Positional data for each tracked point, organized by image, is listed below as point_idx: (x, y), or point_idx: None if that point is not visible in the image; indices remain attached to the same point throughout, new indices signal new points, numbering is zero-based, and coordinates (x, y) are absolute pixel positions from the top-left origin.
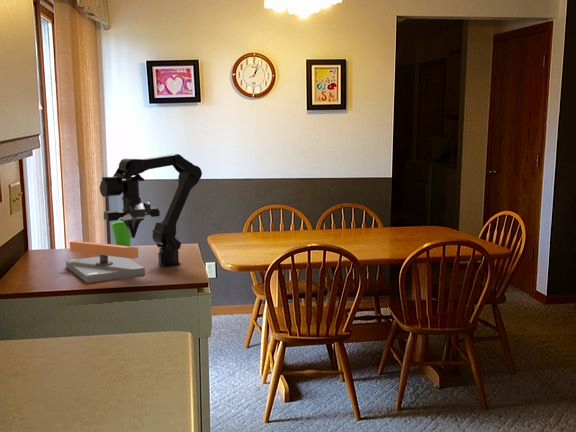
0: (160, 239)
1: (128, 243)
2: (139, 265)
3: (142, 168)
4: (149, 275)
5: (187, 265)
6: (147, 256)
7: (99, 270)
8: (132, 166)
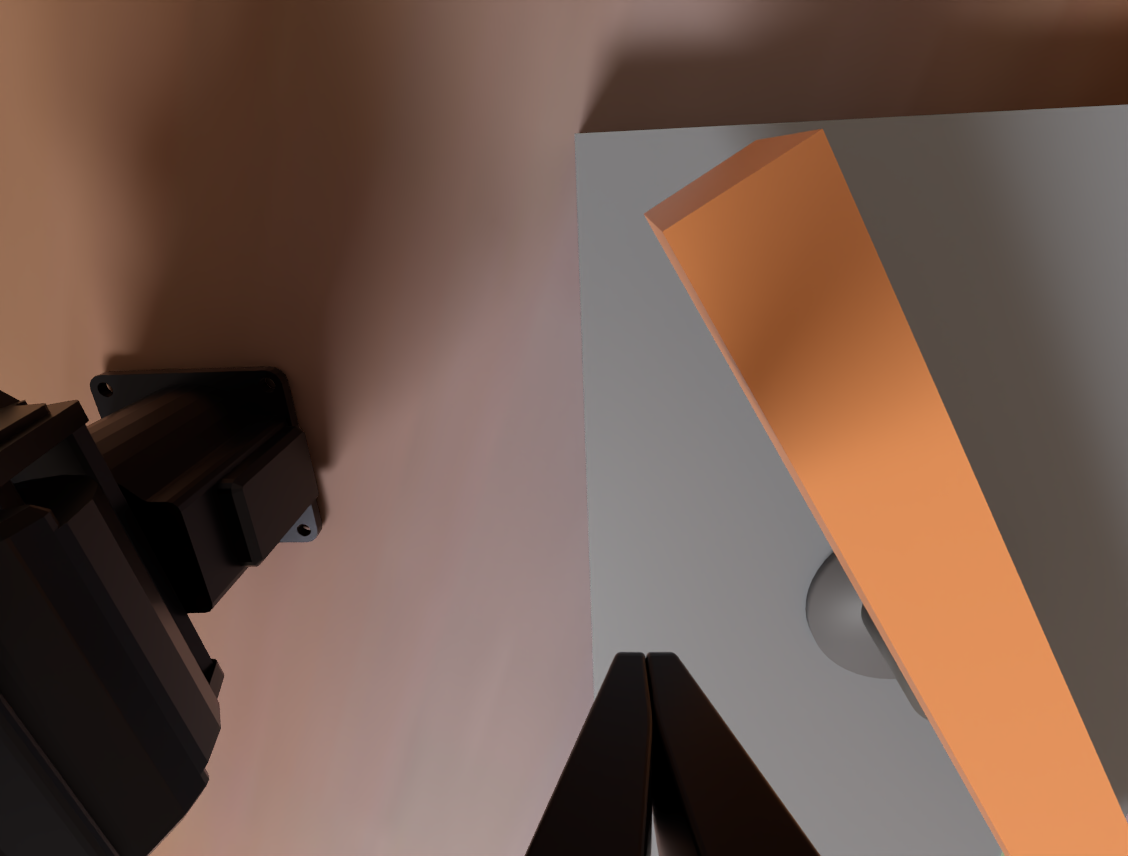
0: (57, 539)
1: None
2: (591, 314)
3: None
4: (542, 48)
5: (28, 302)
6: (361, 803)
7: (1124, 331)
8: None
